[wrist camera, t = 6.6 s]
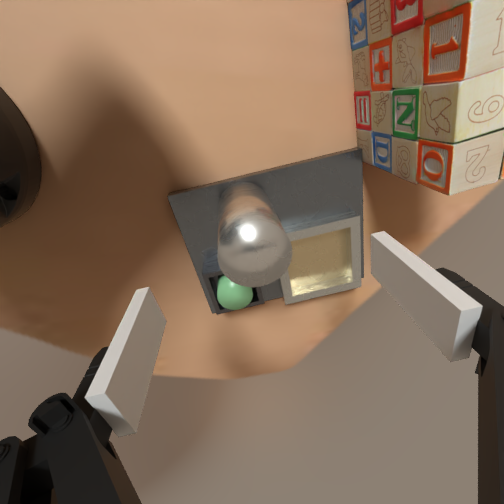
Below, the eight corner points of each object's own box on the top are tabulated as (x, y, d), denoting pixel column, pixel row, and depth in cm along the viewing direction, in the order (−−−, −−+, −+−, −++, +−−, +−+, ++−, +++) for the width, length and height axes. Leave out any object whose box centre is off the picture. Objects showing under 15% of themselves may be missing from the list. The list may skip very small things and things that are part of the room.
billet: (212, 188, 25) (207, 232, 17) (263, 176, 25) (286, 212, 17) (226, 235, 28) (228, 294, 19) (272, 223, 28) (297, 277, 19)
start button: (213, 270, 29) (212, 286, 26) (245, 262, 29) (248, 277, 26) (222, 295, 31) (222, 313, 28) (253, 288, 31) (256, 305, 28)
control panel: (169, 193, 26) (162, 205, 23) (357, 147, 26) (375, 152, 23) (212, 308, 33) (211, 328, 30) (360, 273, 33) (374, 289, 30)
